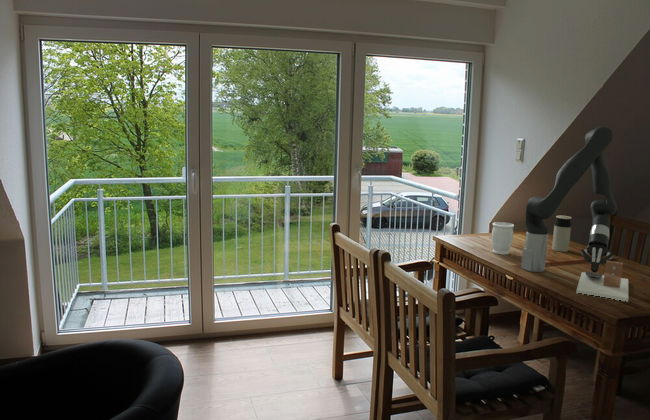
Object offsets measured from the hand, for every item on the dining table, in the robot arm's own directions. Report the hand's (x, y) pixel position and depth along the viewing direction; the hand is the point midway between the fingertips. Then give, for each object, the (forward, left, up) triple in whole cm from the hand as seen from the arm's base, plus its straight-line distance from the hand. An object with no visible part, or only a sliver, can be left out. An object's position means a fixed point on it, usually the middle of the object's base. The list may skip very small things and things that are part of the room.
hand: (594, 271), depth 226 cm
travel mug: (+31, +50, -6) cm, 59 cm away
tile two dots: (0, -9, -4) cm, 10 cm away
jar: (-4, +54, -6) cm, 54 cm away
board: (0, -5, -6) cm, 7 cm away
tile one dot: (+6, +5, -4) cm, 9 cm away
